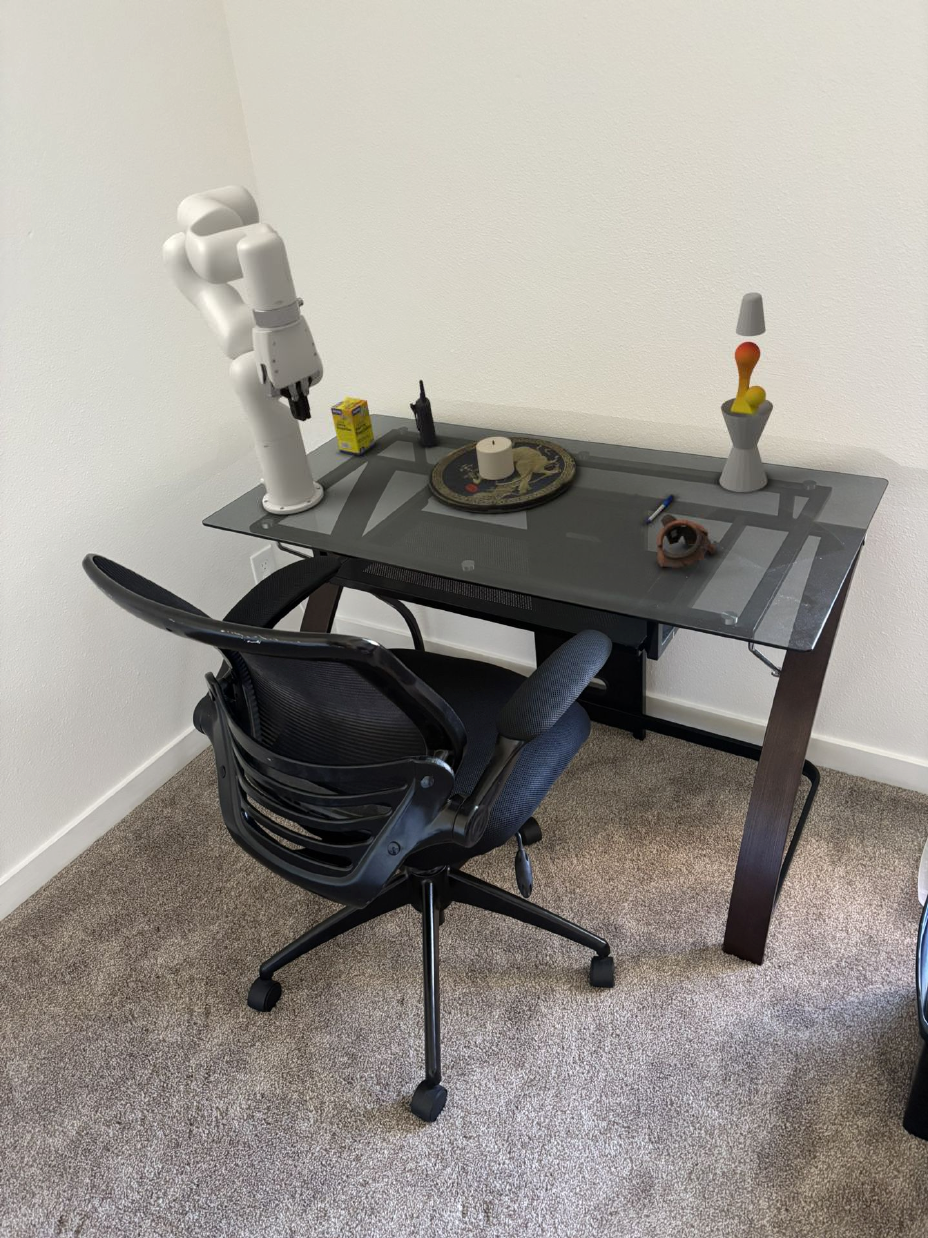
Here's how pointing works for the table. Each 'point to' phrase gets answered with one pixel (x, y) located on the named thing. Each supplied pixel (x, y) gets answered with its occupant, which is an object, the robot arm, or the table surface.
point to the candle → (495, 458)
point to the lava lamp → (746, 406)
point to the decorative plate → (532, 482)
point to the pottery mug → (691, 536)
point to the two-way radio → (424, 418)
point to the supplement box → (353, 426)
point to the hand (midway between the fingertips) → (302, 417)
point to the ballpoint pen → (660, 508)
